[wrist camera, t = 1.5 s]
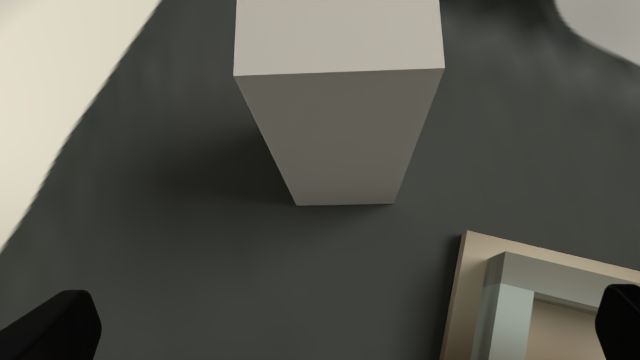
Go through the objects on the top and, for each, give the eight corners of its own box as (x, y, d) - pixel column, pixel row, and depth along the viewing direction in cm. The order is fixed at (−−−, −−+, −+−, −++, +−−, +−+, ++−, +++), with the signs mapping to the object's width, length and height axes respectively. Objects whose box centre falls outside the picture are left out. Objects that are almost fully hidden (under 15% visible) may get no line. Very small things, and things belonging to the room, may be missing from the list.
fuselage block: (393, 203, 22) (444, 68, 10) (296, 205, 22) (233, 76, 10) (388, 113, 23) (429, -103, 11) (297, 116, 23) (241, -92, 11)
